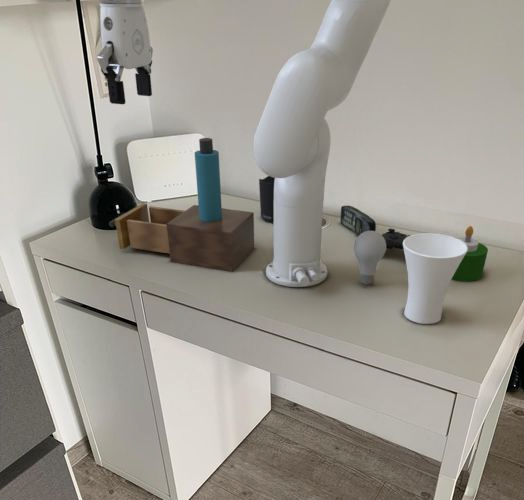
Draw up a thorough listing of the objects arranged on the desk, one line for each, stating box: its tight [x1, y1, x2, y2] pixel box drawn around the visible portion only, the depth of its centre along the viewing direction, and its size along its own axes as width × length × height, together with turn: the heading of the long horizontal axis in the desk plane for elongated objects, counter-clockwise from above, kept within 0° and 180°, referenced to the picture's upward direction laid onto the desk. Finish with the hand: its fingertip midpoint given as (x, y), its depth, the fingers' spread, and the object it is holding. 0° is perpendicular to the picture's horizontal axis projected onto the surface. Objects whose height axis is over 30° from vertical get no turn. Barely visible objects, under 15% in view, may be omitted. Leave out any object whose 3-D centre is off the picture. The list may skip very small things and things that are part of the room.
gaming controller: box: [381, 228, 412, 251], centre depth 118 cm, size 14×6×10 cm
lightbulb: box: [353, 231, 387, 286], centre depth 106 cm, size 6×6×11 cm
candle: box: [451, 225, 489, 282], centre depth 110 cm, size 8×8×10 cm
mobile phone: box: [340, 205, 377, 237], centre depth 130 cm, size 5×3×15 cm
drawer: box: [108, 202, 185, 255], centre depth 124 cm, size 17×11×7 cm, turn 69°
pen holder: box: [258, 175, 275, 224], centre depth 138 cm, size 9×9×10 cm
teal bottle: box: [194, 137, 223, 222], centre depth 112 cm, size 5×5×16 cm
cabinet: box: [167, 204, 255, 272], centre depth 119 cm, size 15×13×9 cm
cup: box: [403, 232, 468, 325], centre depth 95 cm, size 10×10×14 cm
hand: (131, 99), depth 109 cm, fingers open, 9 cm apart
